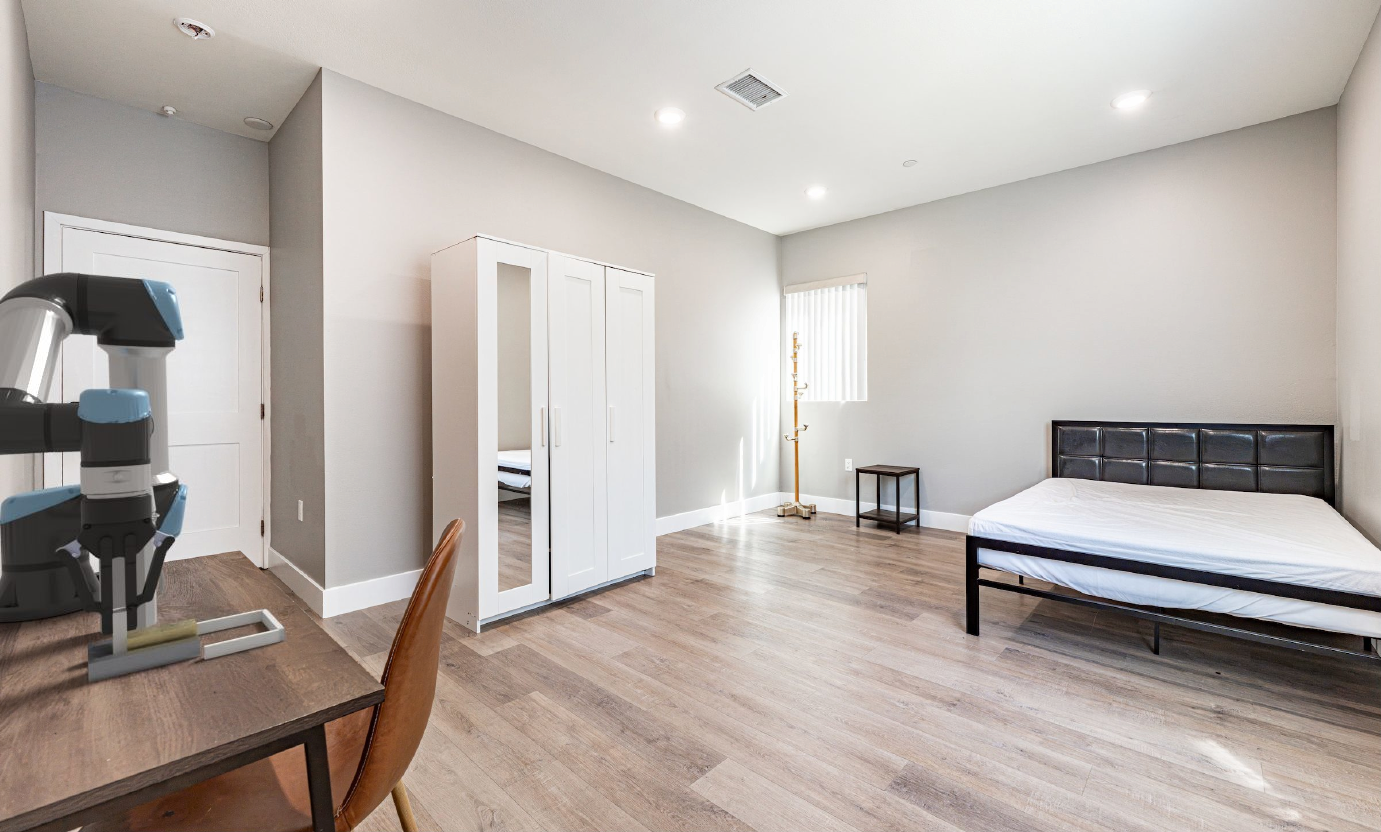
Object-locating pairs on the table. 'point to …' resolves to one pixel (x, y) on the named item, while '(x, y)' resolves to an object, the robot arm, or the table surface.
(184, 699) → the table surface
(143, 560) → the water bottle
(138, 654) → the slot rail
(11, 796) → the table surface
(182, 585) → the table surface
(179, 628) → the khaki cube block
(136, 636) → the tan cube block
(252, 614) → the white rectangular frame
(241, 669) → the table surface
